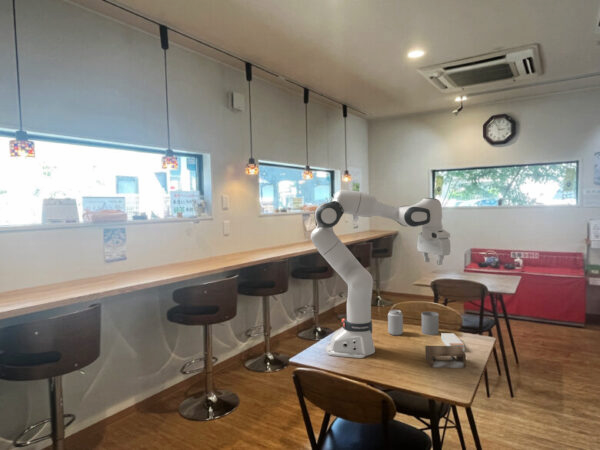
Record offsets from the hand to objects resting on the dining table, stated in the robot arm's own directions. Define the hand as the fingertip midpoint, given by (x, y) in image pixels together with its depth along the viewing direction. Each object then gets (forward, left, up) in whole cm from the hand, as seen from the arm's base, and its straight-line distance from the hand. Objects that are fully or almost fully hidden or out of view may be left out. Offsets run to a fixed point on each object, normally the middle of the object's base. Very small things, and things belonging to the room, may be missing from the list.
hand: (433, 263), depth 175 cm
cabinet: (0, -16, -40) cm, 43 cm away
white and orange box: (+9, +4, -40) cm, 41 cm away
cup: (+3, +22, -40) cm, 46 cm away
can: (-15, +20, -40) cm, 47 cm away
